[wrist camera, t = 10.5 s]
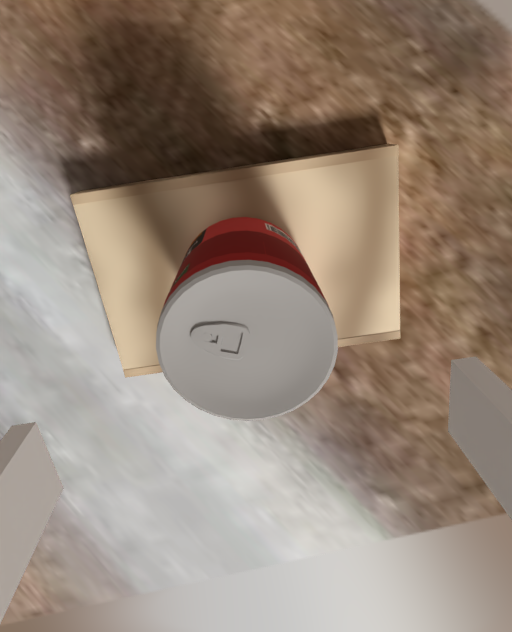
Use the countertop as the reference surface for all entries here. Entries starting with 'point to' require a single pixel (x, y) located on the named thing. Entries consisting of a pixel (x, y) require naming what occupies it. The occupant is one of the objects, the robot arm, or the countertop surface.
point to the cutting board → (262, 203)
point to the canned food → (246, 324)
